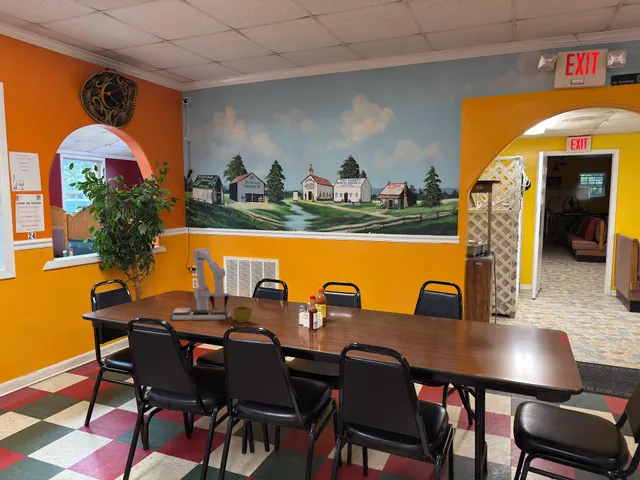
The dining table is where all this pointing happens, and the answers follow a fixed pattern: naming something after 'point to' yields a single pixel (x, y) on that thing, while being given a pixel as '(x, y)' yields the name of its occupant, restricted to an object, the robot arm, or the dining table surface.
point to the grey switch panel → (200, 316)
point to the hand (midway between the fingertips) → (219, 307)
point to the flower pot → (242, 314)
